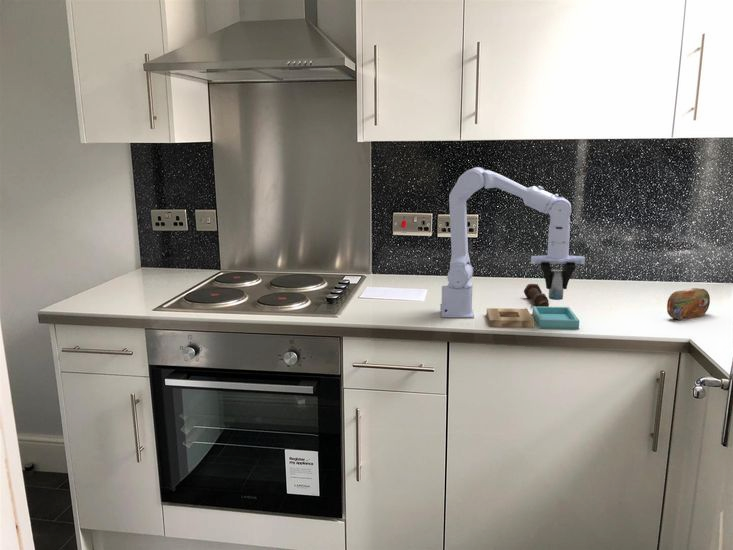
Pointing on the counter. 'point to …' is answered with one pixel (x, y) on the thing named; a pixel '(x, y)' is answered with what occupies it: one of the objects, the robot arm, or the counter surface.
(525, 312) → the wooden socket board
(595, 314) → the counter surface
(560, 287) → the pin
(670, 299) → the tin
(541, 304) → the bolt
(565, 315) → the tray
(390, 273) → the counter surface
